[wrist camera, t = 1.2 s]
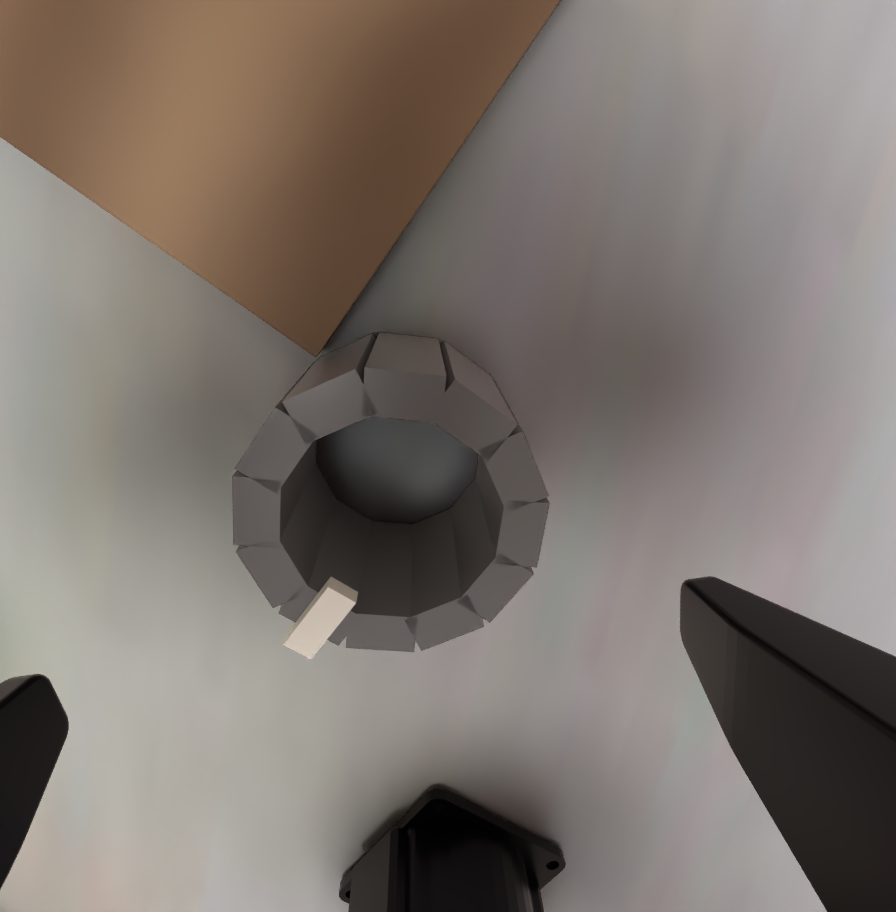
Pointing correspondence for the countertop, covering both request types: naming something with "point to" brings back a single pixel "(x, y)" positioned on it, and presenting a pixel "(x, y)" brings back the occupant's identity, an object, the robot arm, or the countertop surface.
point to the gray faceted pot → (385, 543)
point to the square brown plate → (259, 127)
